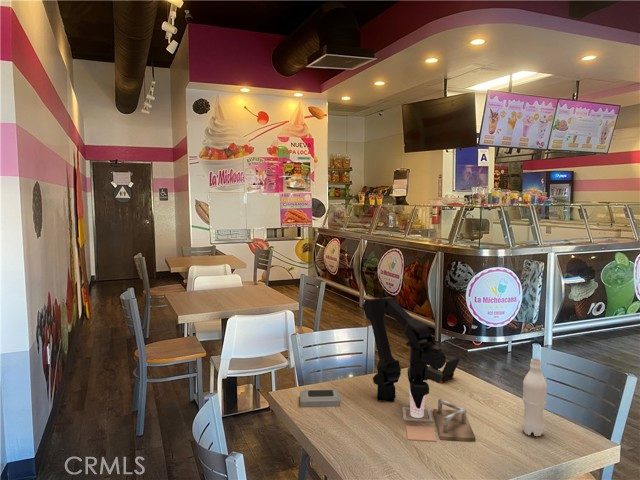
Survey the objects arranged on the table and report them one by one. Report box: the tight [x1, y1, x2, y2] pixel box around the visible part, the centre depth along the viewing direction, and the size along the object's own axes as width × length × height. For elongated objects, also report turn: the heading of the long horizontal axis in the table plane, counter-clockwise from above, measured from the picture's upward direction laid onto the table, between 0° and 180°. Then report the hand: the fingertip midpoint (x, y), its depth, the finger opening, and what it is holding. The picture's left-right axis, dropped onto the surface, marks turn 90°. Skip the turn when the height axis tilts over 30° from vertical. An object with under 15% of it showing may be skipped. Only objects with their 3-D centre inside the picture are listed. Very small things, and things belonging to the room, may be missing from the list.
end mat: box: [405, 425, 437, 443], centre depth 158 cm, size 9×9×1 cm
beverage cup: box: [408, 388, 426, 419], centre depth 171 cm, size 6×6×14 cm
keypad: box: [299, 388, 341, 408], centre depth 183 cm, size 10×4×15 cm
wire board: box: [432, 398, 477, 443], centre depth 163 cm, size 11×20×6 cm, turn 173°
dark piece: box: [428, 357, 461, 384], centre depth 205 cm, size 9×12×10 cm
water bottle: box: [521, 357, 548, 437], centre depth 157 cm, size 7×7×25 cm
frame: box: [401, 406, 434, 423], centre depth 171 cm, size 10×10×1 cm
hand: (417, 402), depth 171 cm, fingers open, 9 cm apart
